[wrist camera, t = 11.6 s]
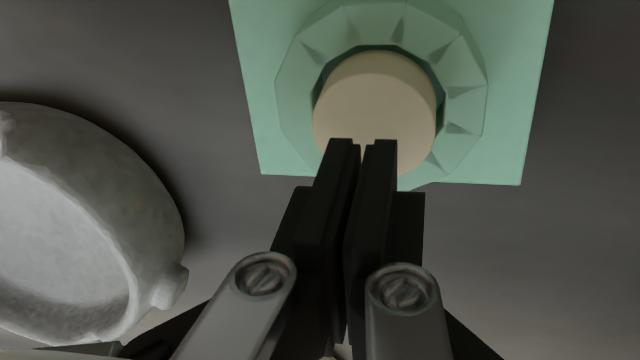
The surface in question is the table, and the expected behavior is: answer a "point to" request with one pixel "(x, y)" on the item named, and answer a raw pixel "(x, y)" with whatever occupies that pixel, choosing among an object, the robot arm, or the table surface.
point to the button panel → (420, 46)
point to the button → (378, 106)
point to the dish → (80, 230)
